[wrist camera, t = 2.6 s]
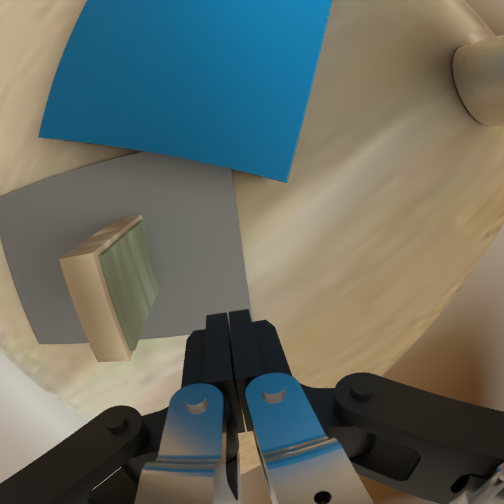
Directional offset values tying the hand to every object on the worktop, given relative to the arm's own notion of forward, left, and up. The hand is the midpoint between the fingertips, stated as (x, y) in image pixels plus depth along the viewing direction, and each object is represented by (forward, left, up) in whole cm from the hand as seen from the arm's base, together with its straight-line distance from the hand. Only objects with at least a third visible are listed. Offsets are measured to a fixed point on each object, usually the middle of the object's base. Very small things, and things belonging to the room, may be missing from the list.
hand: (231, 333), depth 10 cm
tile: (+7, 0, -12) cm, 14 cm away
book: (-1, -18, -13) cm, 22 cm away
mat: (+10, 0, -13) cm, 16 cm away
